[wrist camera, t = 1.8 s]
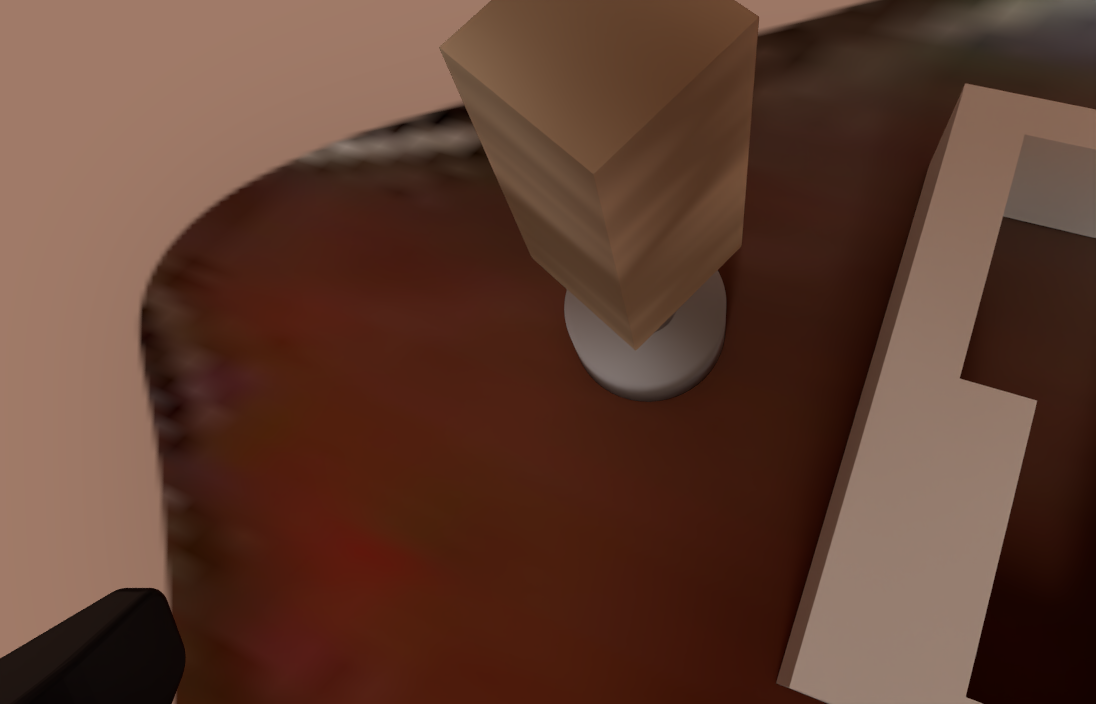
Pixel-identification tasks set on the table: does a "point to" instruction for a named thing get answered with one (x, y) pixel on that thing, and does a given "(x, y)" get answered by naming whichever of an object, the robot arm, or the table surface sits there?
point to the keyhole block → (936, 423)
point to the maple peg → (621, 167)
